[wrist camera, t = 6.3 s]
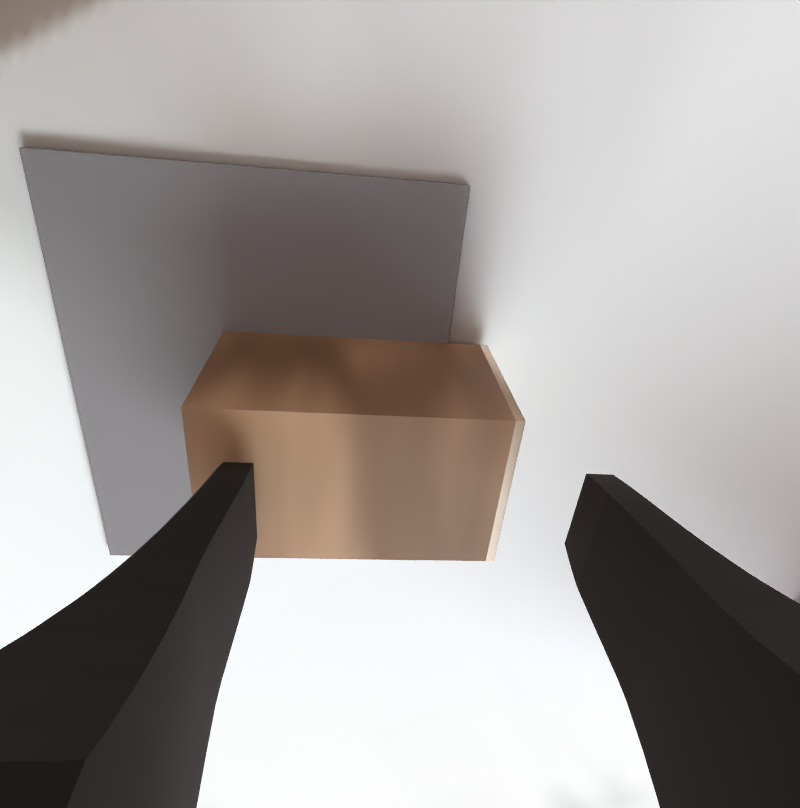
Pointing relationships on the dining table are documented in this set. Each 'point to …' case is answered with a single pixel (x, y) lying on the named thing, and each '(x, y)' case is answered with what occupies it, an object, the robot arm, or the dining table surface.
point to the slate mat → (218, 290)
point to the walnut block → (360, 443)
